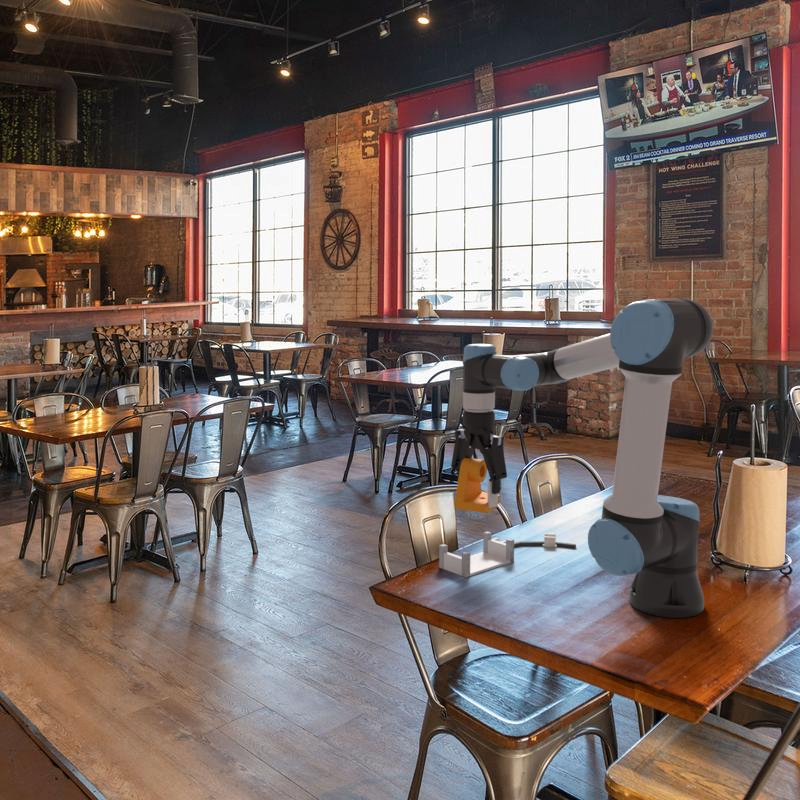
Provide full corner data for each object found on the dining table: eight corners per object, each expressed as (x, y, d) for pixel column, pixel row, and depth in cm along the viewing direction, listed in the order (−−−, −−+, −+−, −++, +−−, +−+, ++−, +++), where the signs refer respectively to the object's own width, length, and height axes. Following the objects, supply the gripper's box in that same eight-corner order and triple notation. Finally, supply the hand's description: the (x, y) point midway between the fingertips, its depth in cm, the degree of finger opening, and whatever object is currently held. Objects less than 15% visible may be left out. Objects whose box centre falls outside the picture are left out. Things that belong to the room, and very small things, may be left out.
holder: (514, 561, 205) (514, 539, 204) (465, 577, 195) (466, 554, 194) (487, 552, 212) (487, 531, 211) (439, 567, 201) (439, 545, 201)
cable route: (577, 548, 215) (577, 538, 215) (490, 553, 211) (490, 543, 211) (568, 540, 221) (568, 531, 221) (484, 546, 217) (484, 536, 217)
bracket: (482, 516, 195) (483, 465, 193) (454, 511, 199) (455, 462, 197) (500, 505, 204) (501, 456, 203) (473, 501, 208) (474, 453, 206)
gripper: (524, 413, 192) (522, 509, 196) (458, 402, 208) (457, 491, 212) (501, 417, 187) (500, 515, 191) (436, 406, 204) (436, 496, 207)
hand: (478, 502), depth 201 cm, fingers closed on bracket, 9 cm apart
